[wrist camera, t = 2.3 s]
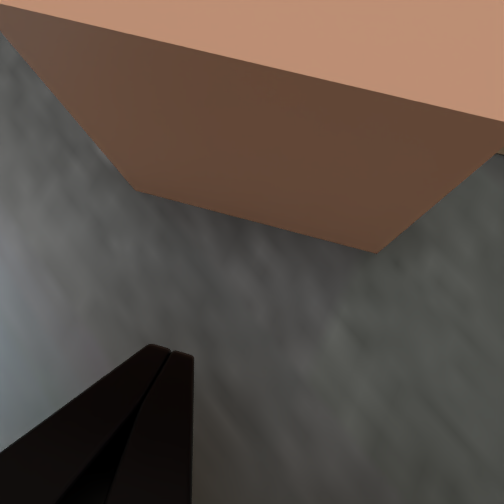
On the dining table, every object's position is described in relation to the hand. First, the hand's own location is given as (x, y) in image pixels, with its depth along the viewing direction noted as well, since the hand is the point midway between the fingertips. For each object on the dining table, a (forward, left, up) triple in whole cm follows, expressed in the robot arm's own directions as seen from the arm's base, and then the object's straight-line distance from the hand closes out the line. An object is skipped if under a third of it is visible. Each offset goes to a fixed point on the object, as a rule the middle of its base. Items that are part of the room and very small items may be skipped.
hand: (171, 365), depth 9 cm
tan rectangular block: (+7, 0, -8) cm, 10 cm away
